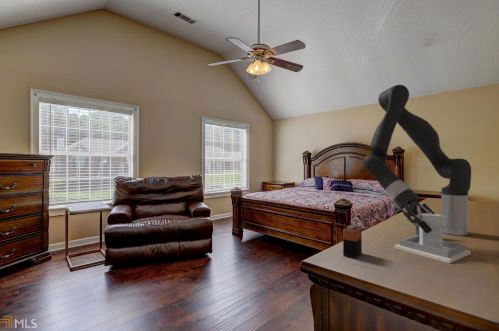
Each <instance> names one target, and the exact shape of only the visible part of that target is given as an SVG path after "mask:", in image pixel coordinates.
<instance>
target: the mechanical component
mask: <svg viewBox="0 0 499 331" xmlns="http://www.w3.org/2000/svg"><path fill="white" fill-rule="evenodd" d="M403 216H404V217H405V220H406V221H409V222H410V223H411V221H410V220H409V219H408V218H407V217H406V216H405V215H404V214H403ZM413 225H414V226H415V235H419V225H417V224H416V223H414V224H413Z"/></svg>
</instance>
